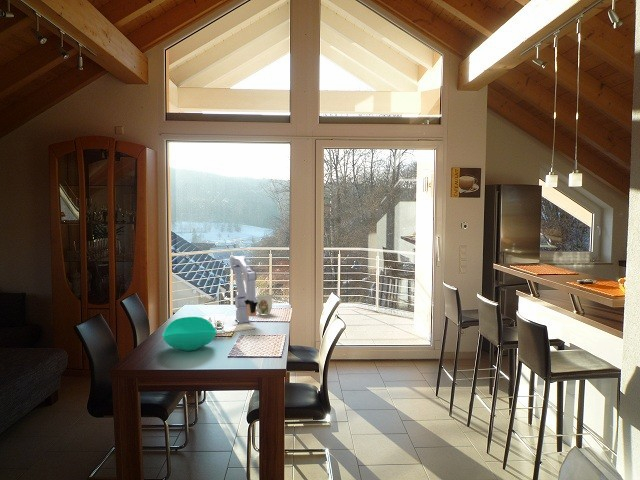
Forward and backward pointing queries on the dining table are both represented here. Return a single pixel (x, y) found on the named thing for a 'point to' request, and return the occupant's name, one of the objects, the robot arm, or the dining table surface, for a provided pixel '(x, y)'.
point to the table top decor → (189, 333)
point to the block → (250, 311)
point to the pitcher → (264, 304)
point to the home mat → (243, 327)
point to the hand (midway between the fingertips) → (251, 312)
